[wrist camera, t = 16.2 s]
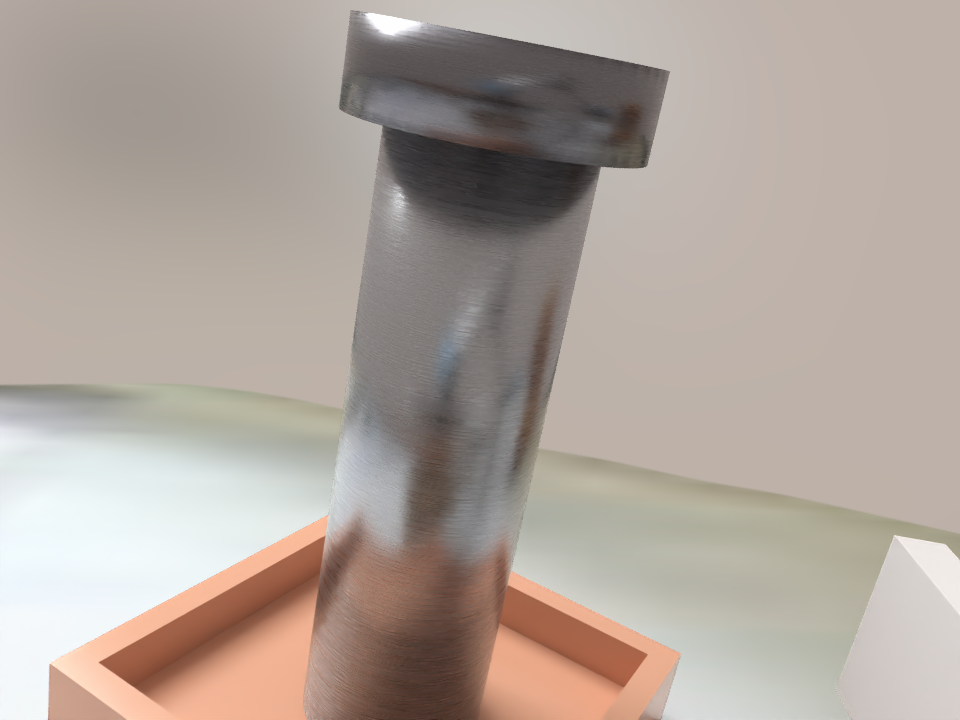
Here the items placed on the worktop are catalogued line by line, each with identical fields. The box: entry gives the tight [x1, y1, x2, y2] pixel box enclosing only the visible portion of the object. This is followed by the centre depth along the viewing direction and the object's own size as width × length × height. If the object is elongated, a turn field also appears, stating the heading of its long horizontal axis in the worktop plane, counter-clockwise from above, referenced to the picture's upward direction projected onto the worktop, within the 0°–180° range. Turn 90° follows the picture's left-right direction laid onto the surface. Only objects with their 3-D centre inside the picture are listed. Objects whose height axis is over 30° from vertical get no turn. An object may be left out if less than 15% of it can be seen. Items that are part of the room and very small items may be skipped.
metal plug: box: [303, 10, 670, 720], centre depth 22 cm, size 7×7×18 cm
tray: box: [48, 515, 681, 720], centre depth 25 cm, size 13×13×2 cm
